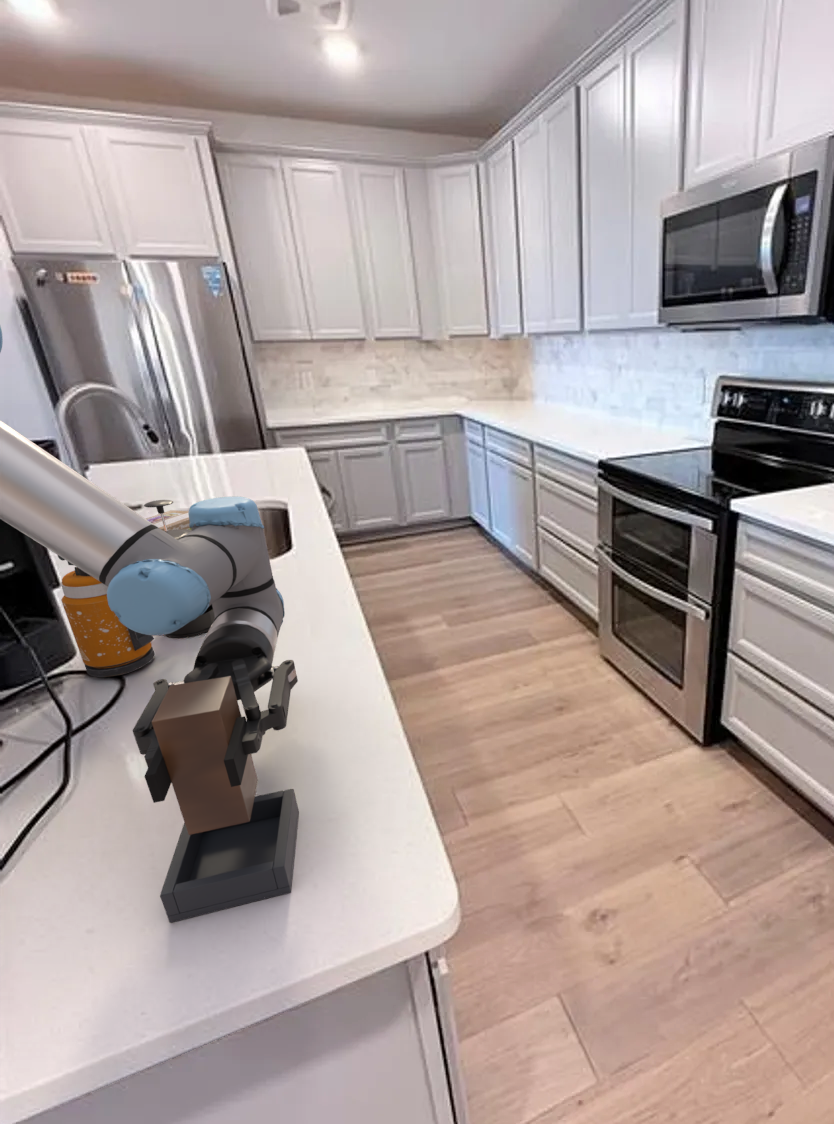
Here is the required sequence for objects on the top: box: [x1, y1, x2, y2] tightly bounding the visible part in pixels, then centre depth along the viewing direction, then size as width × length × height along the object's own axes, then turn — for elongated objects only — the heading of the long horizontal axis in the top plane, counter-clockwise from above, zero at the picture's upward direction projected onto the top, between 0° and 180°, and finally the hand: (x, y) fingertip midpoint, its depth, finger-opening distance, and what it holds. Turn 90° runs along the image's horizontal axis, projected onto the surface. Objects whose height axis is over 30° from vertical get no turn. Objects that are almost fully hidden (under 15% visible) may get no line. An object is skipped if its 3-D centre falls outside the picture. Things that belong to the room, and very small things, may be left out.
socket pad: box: [159, 788, 300, 923], centre depth 60 cm, size 10×11×3 cm
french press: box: [143, 499, 215, 639], centre depth 106 cm, size 12×9×23 cm
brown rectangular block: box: [152, 676, 259, 835], centre depth 55 cm, size 5×6×12 cm
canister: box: [57, 555, 155, 678], centre depth 93 cm, size 9×11×20 cm
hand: (194, 780), depth 50 cm, fingers closed on brown rectangular block, 5 cm apart
